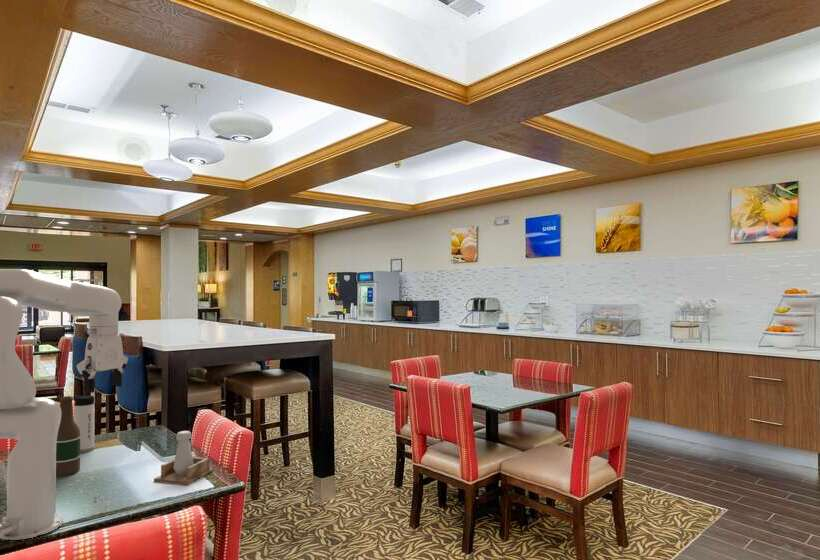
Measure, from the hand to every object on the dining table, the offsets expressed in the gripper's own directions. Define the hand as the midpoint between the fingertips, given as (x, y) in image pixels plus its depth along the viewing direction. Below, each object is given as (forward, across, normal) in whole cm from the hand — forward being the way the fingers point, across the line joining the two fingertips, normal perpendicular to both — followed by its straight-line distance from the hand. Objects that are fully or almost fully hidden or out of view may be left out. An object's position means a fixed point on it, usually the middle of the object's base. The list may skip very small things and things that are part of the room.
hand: (103, 389), depth 154 cm
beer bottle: (+28, +5, +20) cm, 35 cm away
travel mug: (+28, +25, +35) cm, 52 cm away
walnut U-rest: (+28, +12, -19) cm, 36 cm away
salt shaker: (+28, +12, -19) cm, 36 cm away
